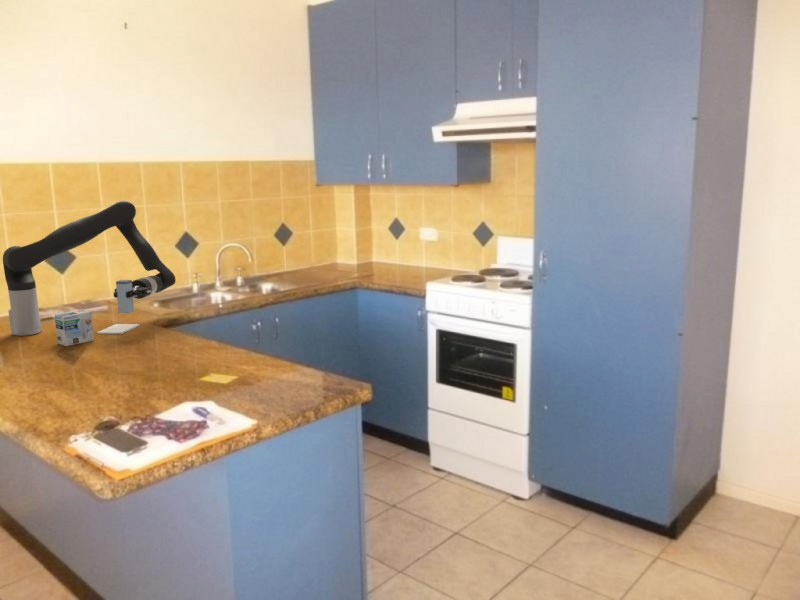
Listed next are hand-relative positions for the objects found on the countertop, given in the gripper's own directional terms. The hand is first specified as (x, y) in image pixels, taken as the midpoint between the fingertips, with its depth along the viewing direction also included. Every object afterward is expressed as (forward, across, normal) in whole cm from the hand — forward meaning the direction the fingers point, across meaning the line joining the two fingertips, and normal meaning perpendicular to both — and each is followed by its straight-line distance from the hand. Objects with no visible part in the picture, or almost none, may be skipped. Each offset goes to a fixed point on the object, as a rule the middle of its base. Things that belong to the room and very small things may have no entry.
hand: (121, 295), depth 247 cm
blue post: (-3, 0, +7) cm, 8 cm away
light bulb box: (+9, -14, +16) cm, 23 cm away
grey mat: (-10, -8, +16) cm, 20 cm away
